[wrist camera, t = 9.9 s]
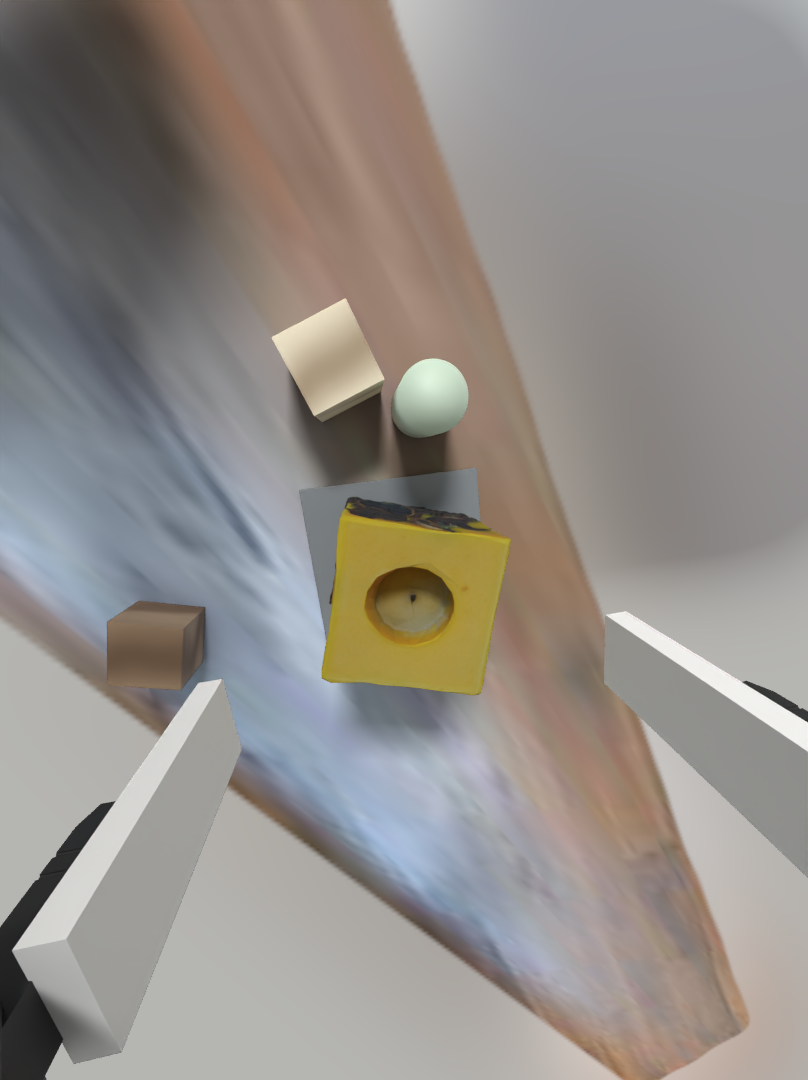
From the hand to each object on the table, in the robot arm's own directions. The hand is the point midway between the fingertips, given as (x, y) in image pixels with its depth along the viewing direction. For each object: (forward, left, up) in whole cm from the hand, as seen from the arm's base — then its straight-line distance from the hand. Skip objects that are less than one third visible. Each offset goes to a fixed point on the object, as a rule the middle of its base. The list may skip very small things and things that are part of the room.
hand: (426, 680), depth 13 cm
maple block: (-14, -2, -19) cm, 23 cm away
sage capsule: (-11, +4, -19) cm, 22 cm away
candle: (+1, +1, -18) cm, 18 cm away
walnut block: (+5, -19, -19) cm, 27 cm away
